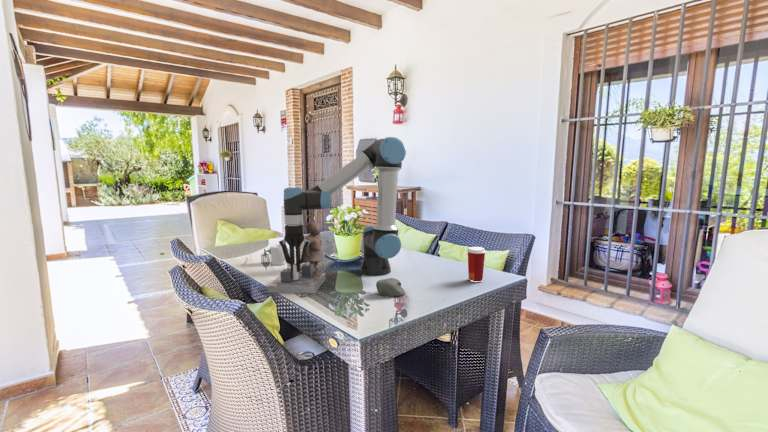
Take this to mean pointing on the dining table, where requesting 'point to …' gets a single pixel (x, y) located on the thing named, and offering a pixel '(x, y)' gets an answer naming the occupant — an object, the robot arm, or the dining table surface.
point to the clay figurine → (314, 245)
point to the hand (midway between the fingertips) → (296, 279)
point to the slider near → (287, 275)
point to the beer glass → (476, 263)
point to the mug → (278, 255)
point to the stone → (390, 287)
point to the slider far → (307, 269)
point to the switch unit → (298, 284)
